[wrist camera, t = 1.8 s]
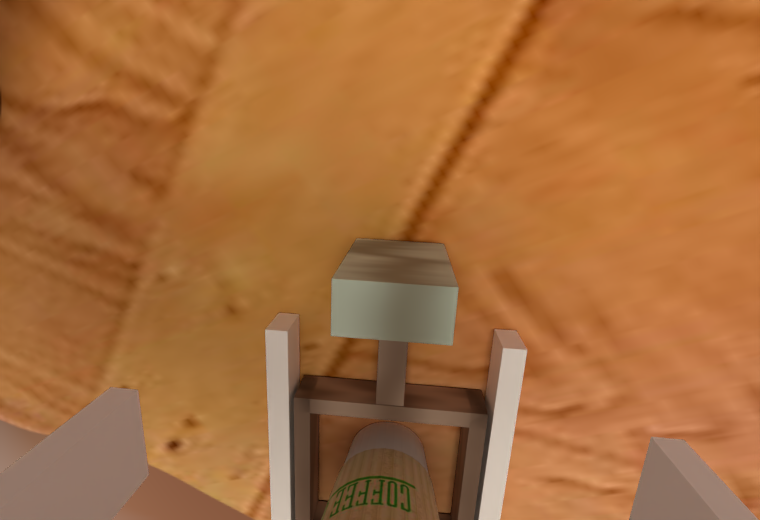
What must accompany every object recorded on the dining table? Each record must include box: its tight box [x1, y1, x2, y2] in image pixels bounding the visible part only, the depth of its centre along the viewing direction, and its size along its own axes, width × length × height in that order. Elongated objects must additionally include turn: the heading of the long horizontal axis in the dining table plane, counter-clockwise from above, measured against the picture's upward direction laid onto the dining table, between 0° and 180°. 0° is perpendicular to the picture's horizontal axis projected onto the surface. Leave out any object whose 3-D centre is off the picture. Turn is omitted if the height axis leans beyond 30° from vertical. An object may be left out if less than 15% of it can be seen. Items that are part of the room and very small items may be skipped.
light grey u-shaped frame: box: [265, 313, 527, 520], centre depth 32 cm, size 18×20×3 cm
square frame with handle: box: [294, 238, 488, 520], centre depth 27 cm, size 14×25×10 cm, turn 177°
